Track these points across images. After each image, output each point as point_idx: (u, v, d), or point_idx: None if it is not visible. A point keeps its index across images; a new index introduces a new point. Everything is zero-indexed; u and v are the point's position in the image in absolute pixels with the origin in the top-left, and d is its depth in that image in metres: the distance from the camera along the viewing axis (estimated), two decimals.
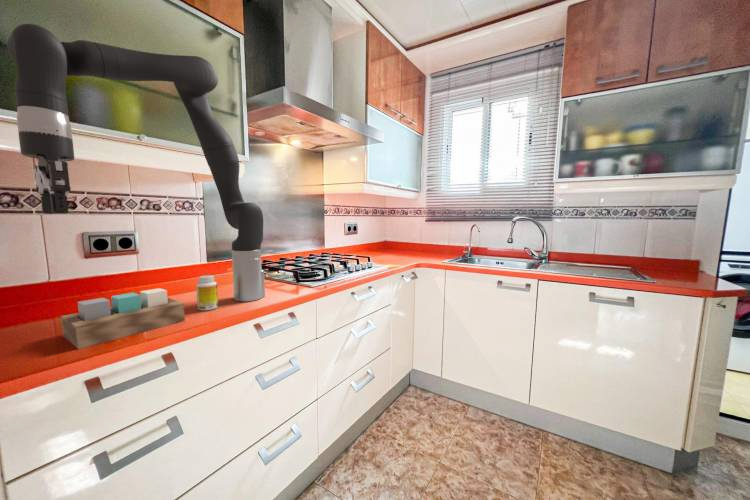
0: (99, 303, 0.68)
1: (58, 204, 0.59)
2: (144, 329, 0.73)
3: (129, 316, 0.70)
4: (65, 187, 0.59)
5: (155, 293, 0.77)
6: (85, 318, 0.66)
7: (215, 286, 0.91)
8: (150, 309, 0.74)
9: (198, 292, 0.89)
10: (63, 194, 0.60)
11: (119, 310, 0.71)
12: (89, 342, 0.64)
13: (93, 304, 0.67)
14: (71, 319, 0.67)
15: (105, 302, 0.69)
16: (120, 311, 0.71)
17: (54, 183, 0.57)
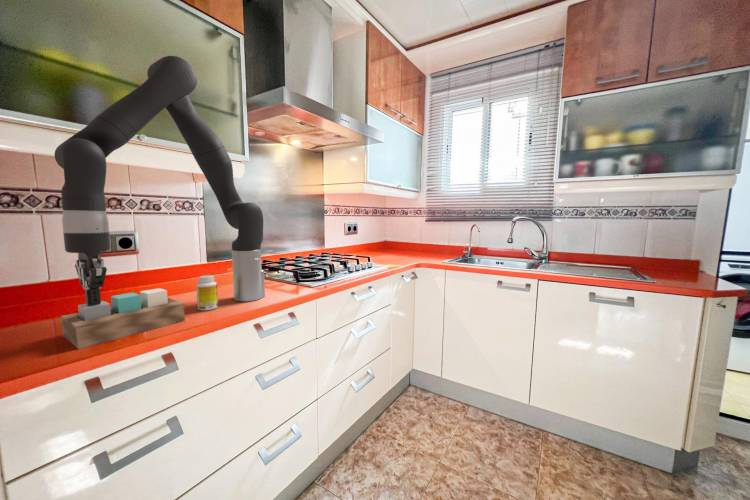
0: (99, 306, 0.68)
1: (93, 298, 0.68)
2: (144, 329, 0.73)
3: (129, 316, 0.70)
4: (99, 284, 0.67)
5: (155, 293, 0.77)
6: None
7: (215, 286, 0.91)
8: (150, 309, 0.74)
9: (198, 292, 0.89)
10: (97, 289, 0.68)
11: (119, 310, 0.71)
12: (89, 342, 0.64)
13: (93, 307, 0.67)
14: (71, 319, 0.67)
15: (105, 305, 0.69)
16: (120, 311, 0.71)
17: (91, 285, 0.66)
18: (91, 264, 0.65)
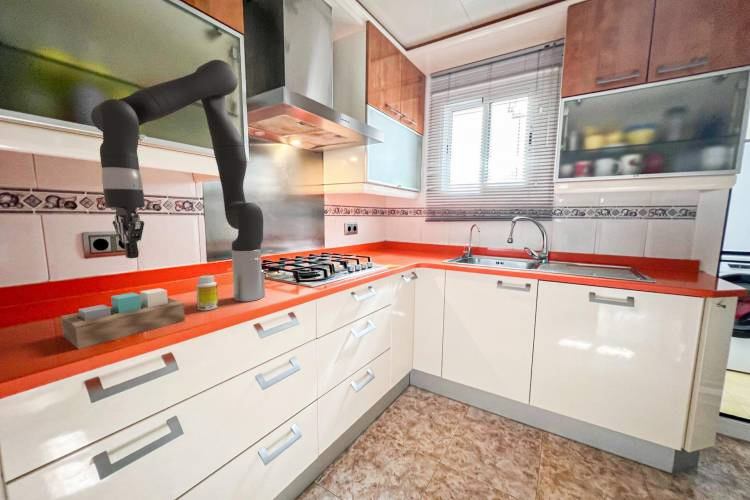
0: (100, 310, 0.68)
1: (132, 251, 0.73)
2: (144, 329, 0.73)
3: (129, 316, 0.70)
4: (137, 237, 0.73)
5: (155, 293, 0.77)
6: None
7: (215, 286, 0.91)
8: (150, 309, 0.74)
9: (198, 292, 0.89)
10: (135, 242, 0.73)
11: (119, 310, 0.71)
12: (89, 342, 0.64)
13: (94, 311, 0.67)
14: (71, 319, 0.67)
15: (106, 309, 0.69)
16: (120, 311, 0.71)
17: (130, 238, 0.71)
18: (130, 218, 0.70)
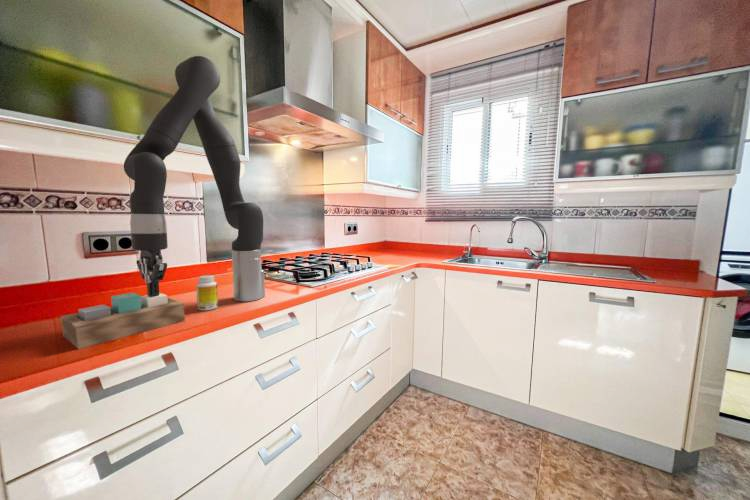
0: (100, 310, 0.68)
1: (153, 290, 0.78)
2: (144, 329, 0.73)
3: (129, 316, 0.70)
4: (160, 278, 0.77)
5: (155, 298, 0.78)
6: None
7: (215, 286, 0.91)
8: (150, 309, 0.74)
9: (198, 292, 0.89)
10: (157, 282, 0.78)
11: (119, 310, 0.71)
12: (89, 342, 0.64)
13: (94, 311, 0.67)
14: (71, 319, 0.67)
15: (106, 309, 0.69)
16: (120, 311, 0.71)
17: (154, 278, 0.76)
18: (154, 260, 0.75)
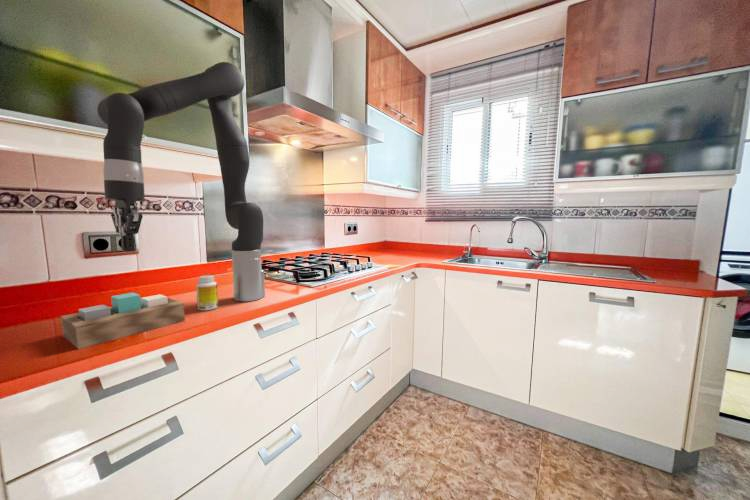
0: (100, 310, 0.68)
1: (128, 244, 0.72)
2: (144, 329, 0.73)
3: (129, 316, 0.70)
4: (134, 230, 0.72)
5: (155, 300, 0.78)
6: None
7: (215, 286, 0.91)
8: (150, 309, 0.74)
9: (198, 292, 0.89)
10: (132, 235, 0.73)
11: (119, 310, 0.71)
12: (89, 342, 0.64)
13: (94, 311, 0.67)
14: (71, 319, 0.67)
15: (106, 309, 0.69)
16: (120, 311, 0.71)
17: (128, 230, 0.71)
18: (128, 210, 0.70)
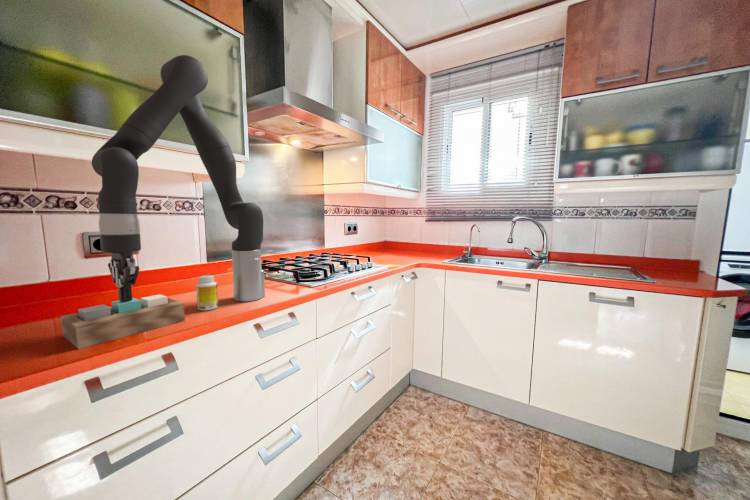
0: (100, 310, 0.68)
1: (125, 295, 0.73)
2: (144, 329, 0.73)
3: (129, 316, 0.70)
4: (132, 282, 0.72)
5: (155, 300, 0.78)
6: None
7: (215, 286, 0.91)
8: (150, 309, 0.74)
9: (198, 292, 0.89)
10: (129, 286, 0.73)
11: None
12: (89, 342, 0.64)
13: (94, 311, 0.67)
14: (71, 319, 0.67)
15: (106, 309, 0.69)
16: None
17: (125, 283, 0.71)
18: (125, 263, 0.70)
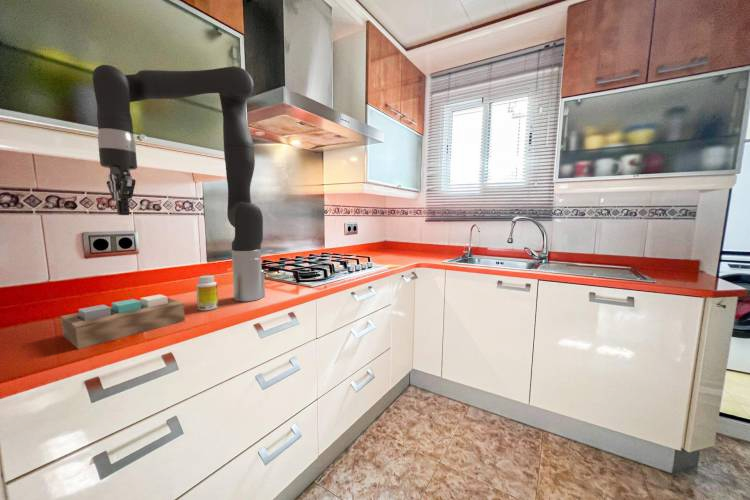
0: (100, 310, 0.68)
1: (123, 208, 0.79)
2: (144, 329, 0.73)
3: (129, 316, 0.70)
4: (129, 195, 0.78)
5: (155, 300, 0.78)
6: None
7: (215, 286, 0.91)
8: (150, 309, 0.74)
9: (198, 292, 0.89)
10: (126, 200, 0.79)
11: None
12: (89, 342, 0.64)
13: (94, 311, 0.67)
14: (71, 319, 0.67)
15: (106, 309, 0.69)
16: None
17: (122, 194, 0.77)
18: (122, 176, 0.76)
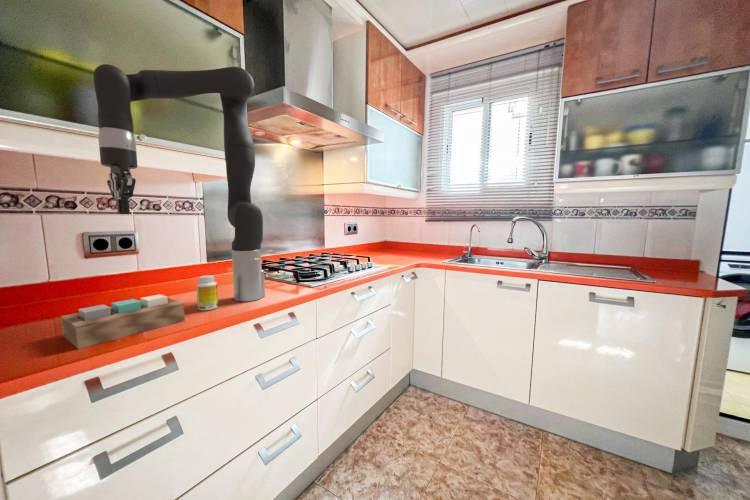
0: (100, 310, 0.68)
1: (123, 207, 0.79)
2: (144, 329, 0.73)
3: (129, 316, 0.70)
4: (129, 194, 0.79)
5: (155, 300, 0.78)
6: None
7: (215, 286, 0.91)
8: (150, 309, 0.74)
9: (198, 292, 0.89)
10: (127, 199, 0.79)
11: None
12: (89, 342, 0.64)
13: (94, 311, 0.67)
14: (71, 319, 0.67)
15: (106, 309, 0.69)
16: None
17: (122, 193, 0.77)
18: (123, 175, 0.77)
